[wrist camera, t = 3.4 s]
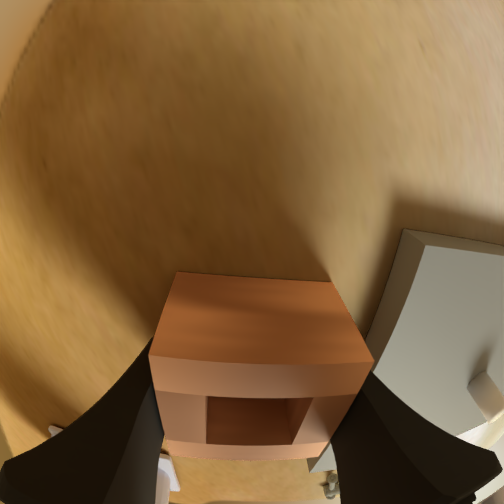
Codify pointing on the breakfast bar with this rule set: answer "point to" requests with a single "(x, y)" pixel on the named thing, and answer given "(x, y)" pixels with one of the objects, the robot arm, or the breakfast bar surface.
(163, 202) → the breakfast bar surface
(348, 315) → the collar block
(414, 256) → the pin board
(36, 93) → the breakfast bar surface
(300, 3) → the breakfast bar surface
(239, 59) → the breakfast bar surface
